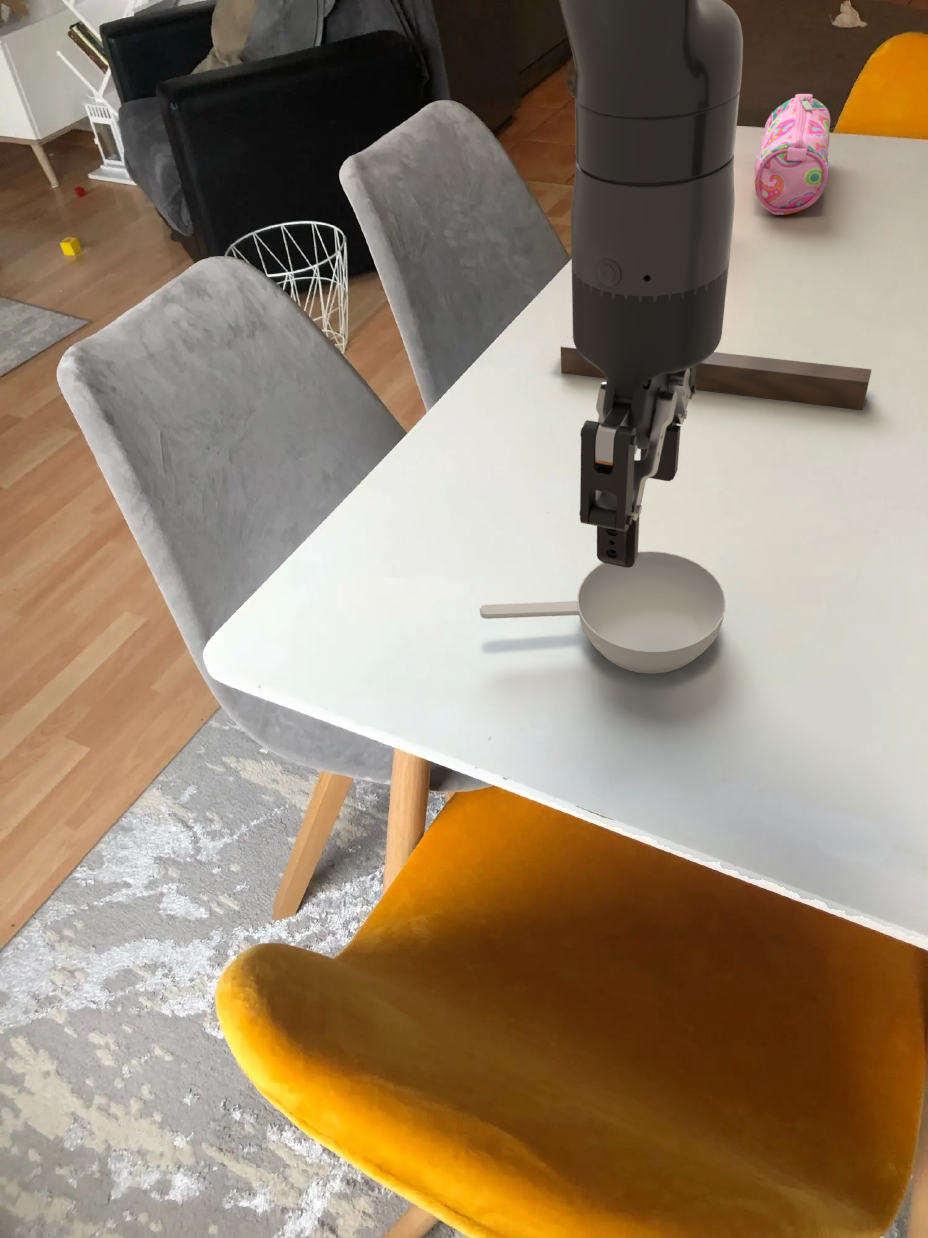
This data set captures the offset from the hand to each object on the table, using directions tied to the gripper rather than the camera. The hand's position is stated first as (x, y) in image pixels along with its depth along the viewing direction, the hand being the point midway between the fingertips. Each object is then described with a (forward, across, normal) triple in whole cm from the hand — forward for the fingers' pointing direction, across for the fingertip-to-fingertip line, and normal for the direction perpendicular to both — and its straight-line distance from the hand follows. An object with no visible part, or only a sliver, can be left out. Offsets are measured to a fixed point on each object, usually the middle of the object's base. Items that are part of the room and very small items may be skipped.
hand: (638, 516), depth 58 cm
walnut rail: (+16, +42, +5) cm, 45 cm away
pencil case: (+16, +93, +6) cm, 94 cm away
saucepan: (+16, +5, +4) cm, 18 cm away
